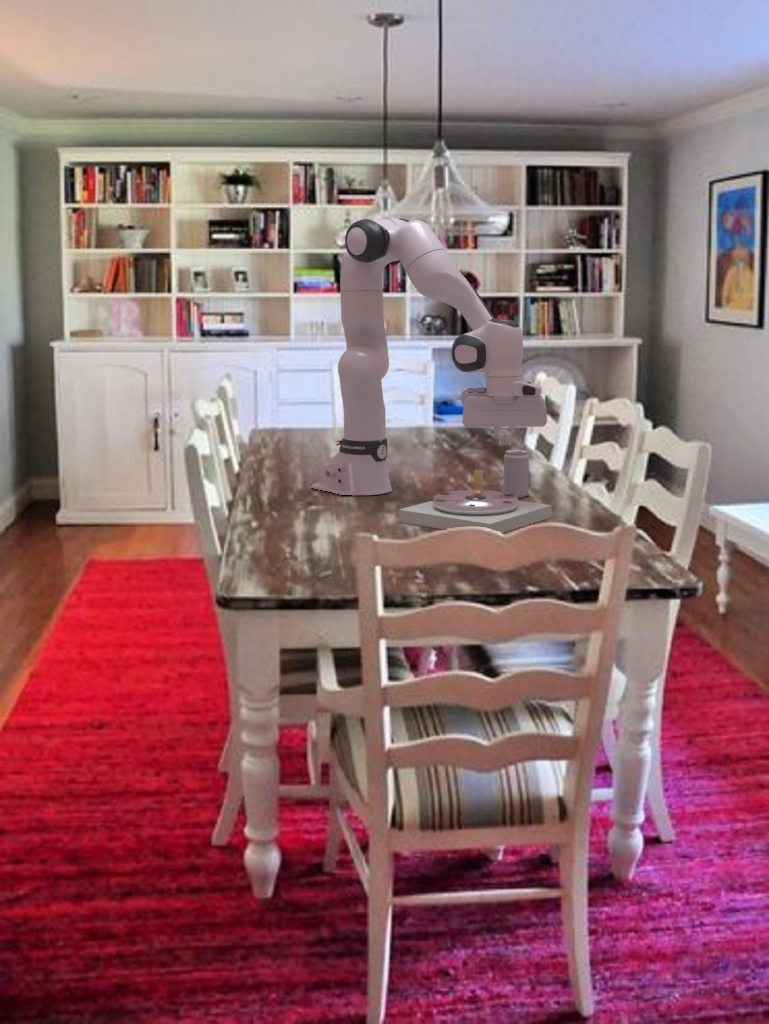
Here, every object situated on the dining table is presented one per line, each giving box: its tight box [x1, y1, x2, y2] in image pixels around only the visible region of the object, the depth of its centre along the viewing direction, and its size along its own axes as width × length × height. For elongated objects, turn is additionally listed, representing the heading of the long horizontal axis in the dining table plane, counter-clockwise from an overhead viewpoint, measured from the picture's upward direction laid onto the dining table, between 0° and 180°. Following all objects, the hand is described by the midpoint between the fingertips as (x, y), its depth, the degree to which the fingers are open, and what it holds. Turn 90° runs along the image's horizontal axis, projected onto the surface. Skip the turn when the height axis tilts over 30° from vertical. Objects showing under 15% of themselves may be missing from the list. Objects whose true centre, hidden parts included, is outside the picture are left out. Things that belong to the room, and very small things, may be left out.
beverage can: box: [503, 449, 530, 499], centre depth 314 cm, size 6×6×12 cm
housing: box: [398, 499, 552, 534], centre depth 287 cm, size 26×26×3 cm
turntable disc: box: [432, 469, 519, 515], centre depth 286 cm, size 20×20×7 cm
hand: (504, 445), depth 291 cm, fingers closed
